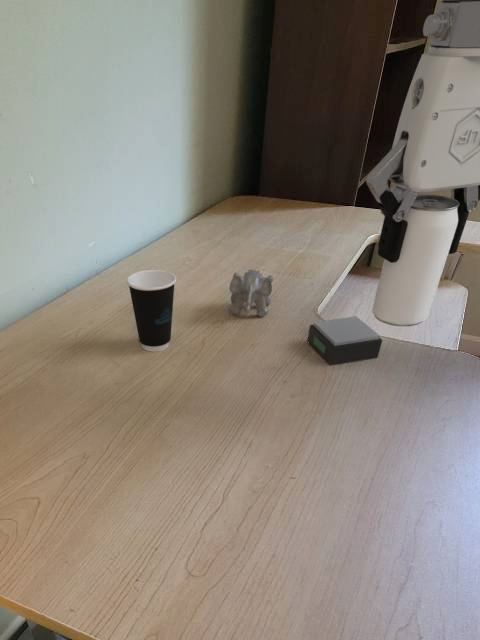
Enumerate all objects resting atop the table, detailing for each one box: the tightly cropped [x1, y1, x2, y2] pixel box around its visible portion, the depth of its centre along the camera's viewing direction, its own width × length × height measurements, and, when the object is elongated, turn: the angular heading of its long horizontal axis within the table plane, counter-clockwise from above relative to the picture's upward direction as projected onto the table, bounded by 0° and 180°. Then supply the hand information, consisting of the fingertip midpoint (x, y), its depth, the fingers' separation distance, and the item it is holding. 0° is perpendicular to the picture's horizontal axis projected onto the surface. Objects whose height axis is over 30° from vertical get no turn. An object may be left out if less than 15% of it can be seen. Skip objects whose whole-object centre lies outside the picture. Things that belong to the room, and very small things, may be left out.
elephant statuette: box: [229, 269, 274, 318], centre depth 94 cm, size 9×12×8 cm
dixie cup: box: [126, 269, 177, 353], centre depth 86 cm, size 8×8×11 cm
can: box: [371, 194, 460, 327], centre depth 58 cm, size 6×6×12 cm
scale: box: [307, 315, 383, 366], centre depth 86 cm, size 9×9×4 cm
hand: (416, 252), depth 58 cm, fingers closed on can, 6 cm apart
